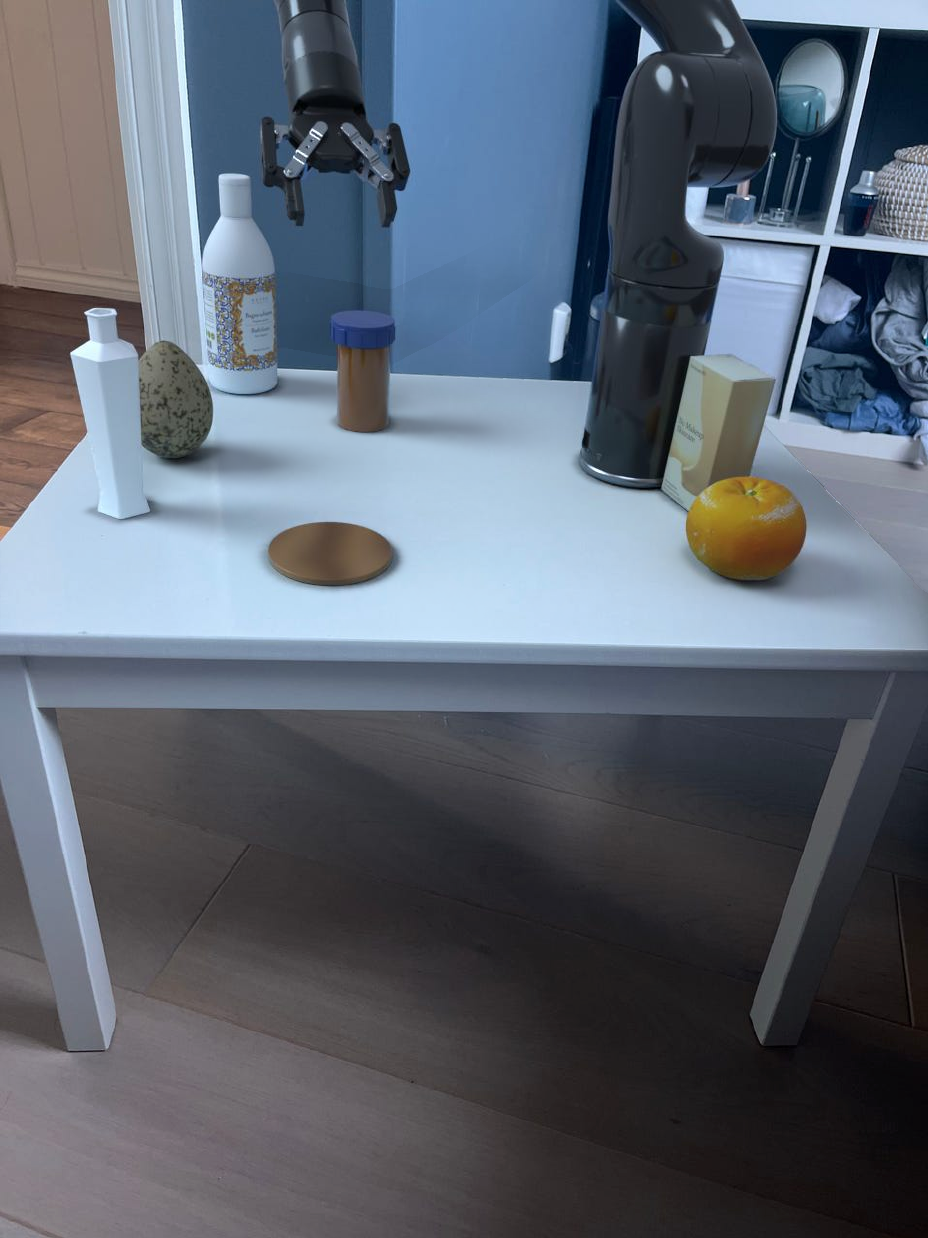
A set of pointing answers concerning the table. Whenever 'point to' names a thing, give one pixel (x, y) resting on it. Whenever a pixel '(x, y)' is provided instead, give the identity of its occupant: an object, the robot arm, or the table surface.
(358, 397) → the jar
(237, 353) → the bath foam
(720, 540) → the fruit
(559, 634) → the table surface
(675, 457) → the cosmetic box
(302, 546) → the coaster
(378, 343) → the lid
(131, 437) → the perfume bottle
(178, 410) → the decorative egg
